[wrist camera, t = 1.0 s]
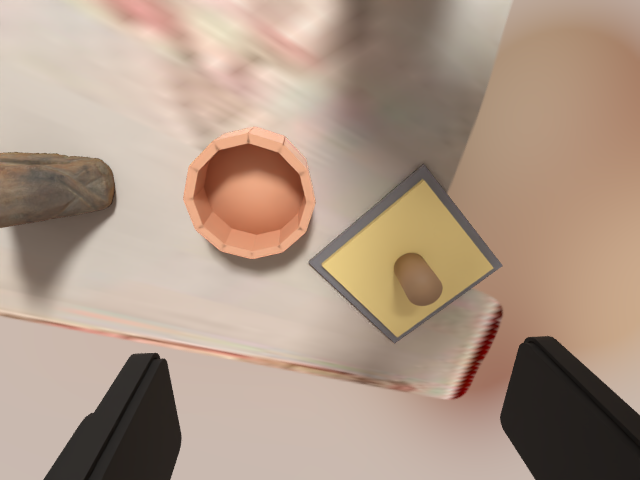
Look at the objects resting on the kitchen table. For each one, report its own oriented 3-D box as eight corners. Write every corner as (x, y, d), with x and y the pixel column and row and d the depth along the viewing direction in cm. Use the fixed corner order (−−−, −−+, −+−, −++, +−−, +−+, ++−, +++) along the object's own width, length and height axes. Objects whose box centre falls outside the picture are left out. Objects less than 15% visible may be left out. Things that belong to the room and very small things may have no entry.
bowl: (254, 102, 32) (247, 104, 27) (333, 188, 36) (339, 203, 31) (176, 183, 35) (157, 198, 30) (257, 255, 38) (252, 278, 34)
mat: (423, 164, 35) (424, 165, 35) (500, 263, 41) (502, 265, 40) (308, 261, 39) (308, 263, 39) (393, 340, 44) (394, 343, 44)
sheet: (422, 179, 36) (443, 194, 30) (491, 265, 40) (519, 291, 35) (321, 263, 39) (325, 290, 34) (396, 334, 43) (409, 367, 38)
